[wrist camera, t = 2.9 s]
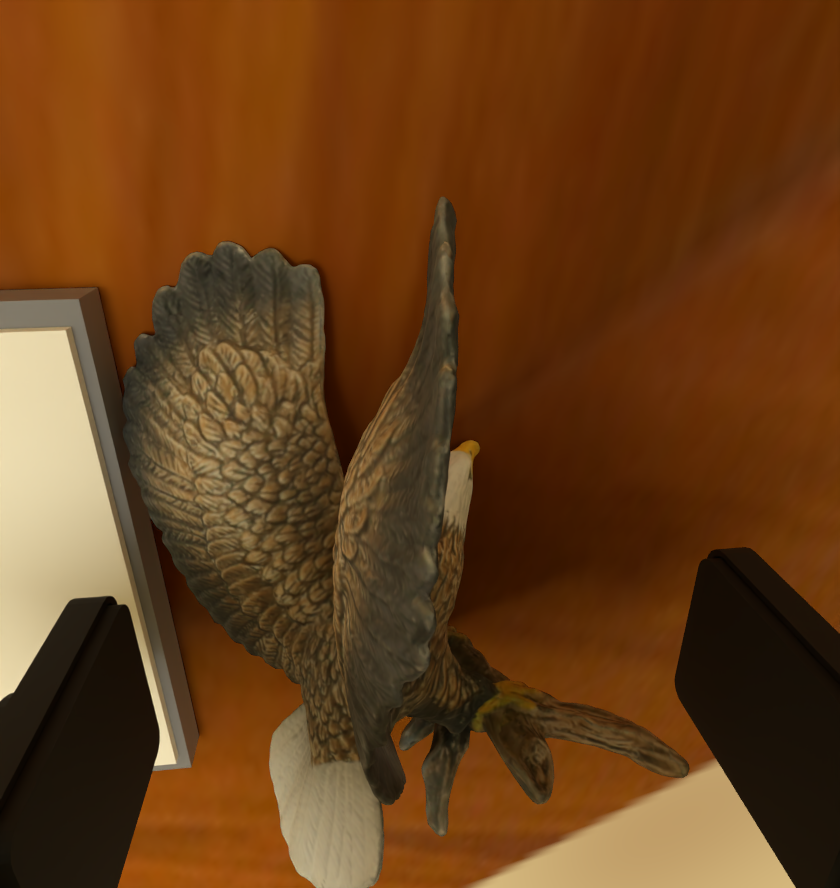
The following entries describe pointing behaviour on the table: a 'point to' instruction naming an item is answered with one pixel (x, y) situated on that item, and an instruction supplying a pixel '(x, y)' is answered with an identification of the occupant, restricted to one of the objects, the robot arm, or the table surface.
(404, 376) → the eagle figurine
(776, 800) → the robot arm
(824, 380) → the table surface
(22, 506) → the game board
